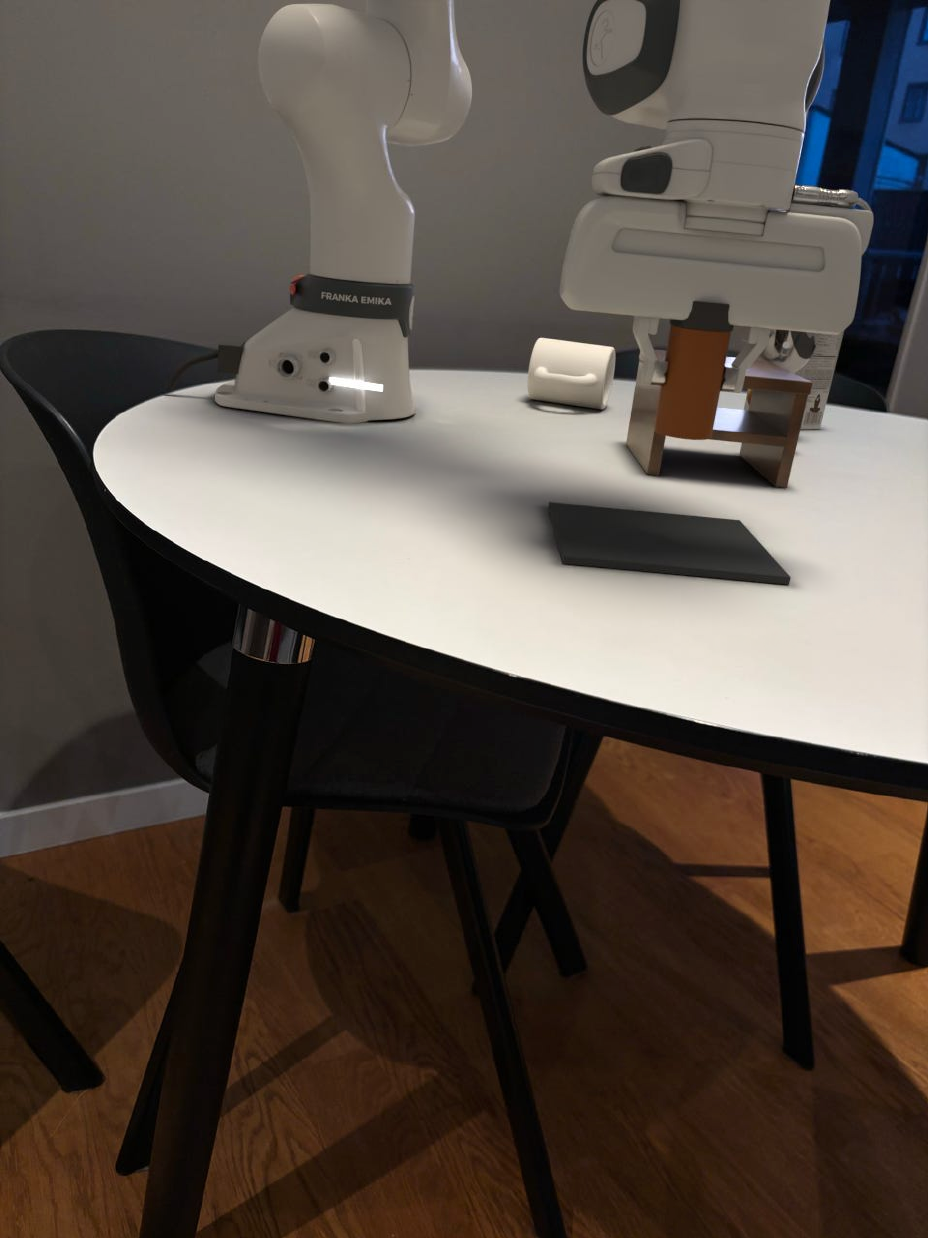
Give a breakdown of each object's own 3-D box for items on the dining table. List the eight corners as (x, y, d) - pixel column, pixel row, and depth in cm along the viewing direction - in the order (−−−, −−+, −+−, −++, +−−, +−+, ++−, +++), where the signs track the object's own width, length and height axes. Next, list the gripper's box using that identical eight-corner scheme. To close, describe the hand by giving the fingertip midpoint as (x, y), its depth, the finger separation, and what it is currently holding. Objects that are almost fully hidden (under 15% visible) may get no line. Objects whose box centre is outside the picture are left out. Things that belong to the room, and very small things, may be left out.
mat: (562, 563, 68) (563, 555, 68) (547, 508, 81) (548, 501, 81) (789, 585, 69) (791, 577, 68) (738, 526, 82) (739, 519, 81)
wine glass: (804, 436, 125) (832, 314, 119) (787, 444, 119) (816, 315, 113) (744, 424, 129) (768, 305, 123) (724, 431, 122) (749, 306, 117)
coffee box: (739, 415, 135) (764, 293, 129) (772, 415, 138) (798, 296, 132) (789, 430, 128) (818, 302, 122) (823, 429, 131) (853, 304, 125)
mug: (538, 394, 135) (545, 334, 132) (609, 405, 133) (618, 344, 130) (516, 407, 124) (524, 342, 121) (593, 418, 122) (603, 353, 119)
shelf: (647, 475, 96) (666, 367, 92) (625, 443, 110) (640, 347, 106) (788, 489, 96) (813, 382, 92) (748, 455, 110) (768, 360, 106)
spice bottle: (658, 436, 69) (680, 299, 66) (647, 425, 73) (668, 295, 70) (719, 442, 70) (745, 305, 66) (705, 430, 74) (728, 301, 70)
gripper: (862, 194, 68) (817, 393, 74) (571, 165, 68) (547, 368, 73) (899, 191, 63) (848, 408, 68) (581, 159, 62) (554, 381, 67)
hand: (689, 387), depth 70 cm, fingers closed on spice bottle, 4 cm apart
